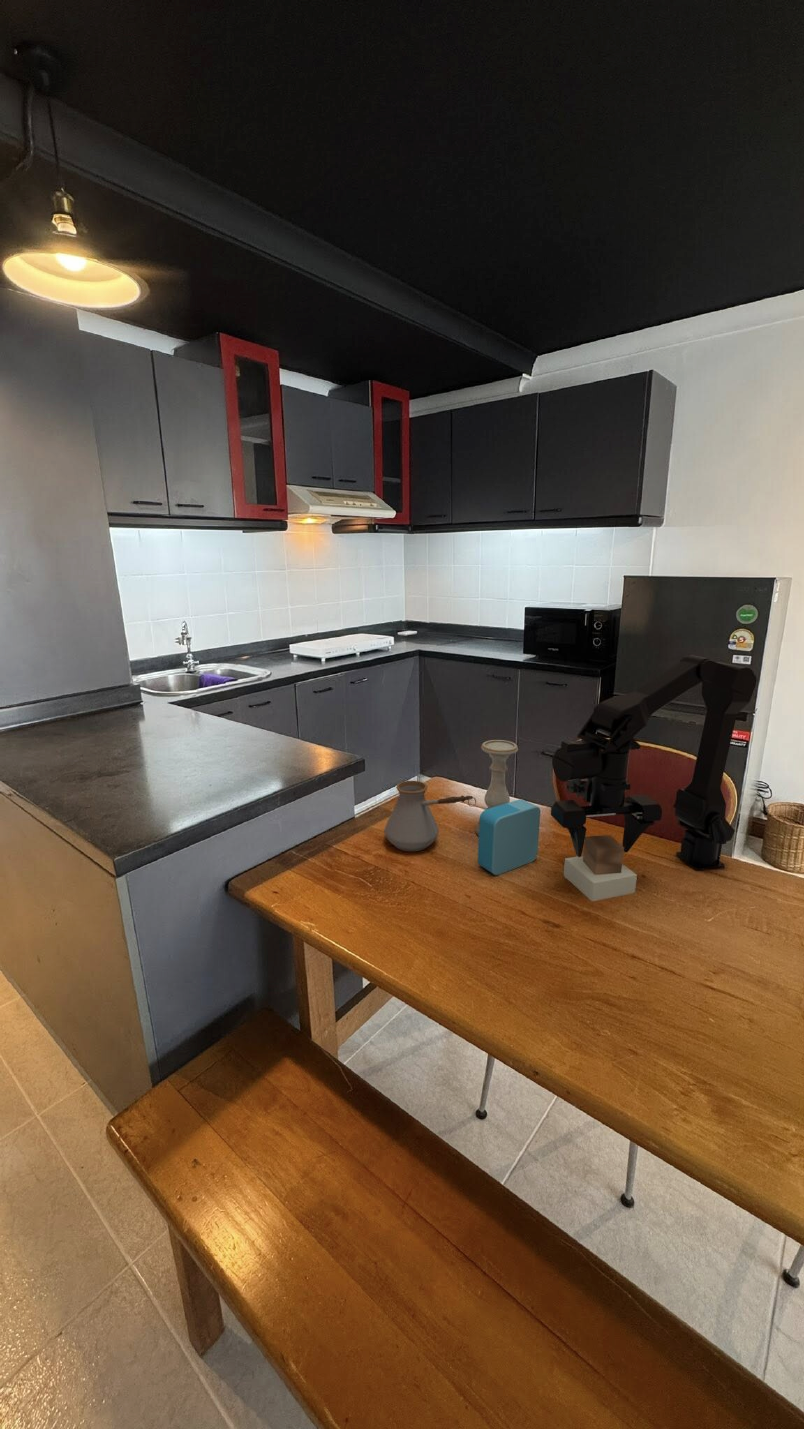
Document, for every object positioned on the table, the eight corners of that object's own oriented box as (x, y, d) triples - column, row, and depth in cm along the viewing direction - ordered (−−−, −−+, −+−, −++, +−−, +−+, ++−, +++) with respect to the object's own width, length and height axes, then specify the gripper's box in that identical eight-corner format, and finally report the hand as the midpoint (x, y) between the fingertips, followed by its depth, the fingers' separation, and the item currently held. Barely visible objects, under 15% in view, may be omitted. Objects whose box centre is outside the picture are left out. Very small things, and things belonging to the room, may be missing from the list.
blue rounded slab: (521, 851, 120) (524, 797, 117) (537, 860, 117) (541, 804, 114) (476, 867, 114) (479, 810, 111) (492, 877, 110) (495, 819, 107)
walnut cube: (607, 859, 110) (610, 834, 109) (621, 872, 105) (624, 847, 104) (582, 860, 109) (585, 836, 108) (594, 874, 105) (597, 849, 103)
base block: (603, 869, 114) (605, 851, 113) (634, 894, 106) (637, 875, 105) (563, 877, 111) (565, 858, 110) (591, 903, 103) (593, 883, 102)
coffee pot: (373, 843, 123) (372, 777, 120) (409, 825, 132) (409, 762, 128) (453, 880, 110) (455, 806, 106) (488, 857, 118) (491, 788, 114)
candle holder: (471, 825, 132) (474, 739, 127) (509, 823, 133) (513, 738, 127) (480, 843, 124) (484, 752, 118) (520, 841, 124) (526, 751, 119)
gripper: (632, 755, 112) (624, 829, 116) (541, 761, 109) (535, 837, 113) (668, 776, 101) (658, 857, 106) (568, 783, 98) (561, 867, 102)
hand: (601, 853), depth 107 cm, fingers open, 9 cm apart
